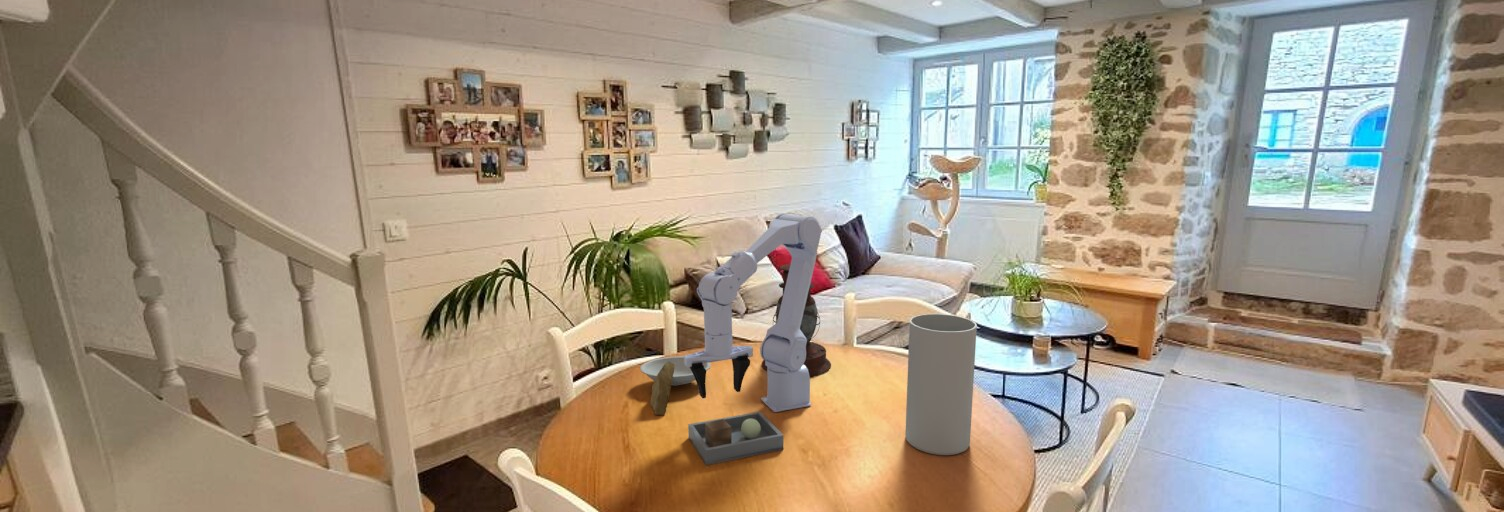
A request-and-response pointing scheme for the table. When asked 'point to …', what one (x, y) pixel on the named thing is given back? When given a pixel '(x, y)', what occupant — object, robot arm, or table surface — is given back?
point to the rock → (662, 388)
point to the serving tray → (737, 440)
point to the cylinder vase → (940, 383)
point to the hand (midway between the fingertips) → (720, 393)
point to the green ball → (750, 428)
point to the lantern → (807, 332)
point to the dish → (680, 372)
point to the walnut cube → (717, 433)
